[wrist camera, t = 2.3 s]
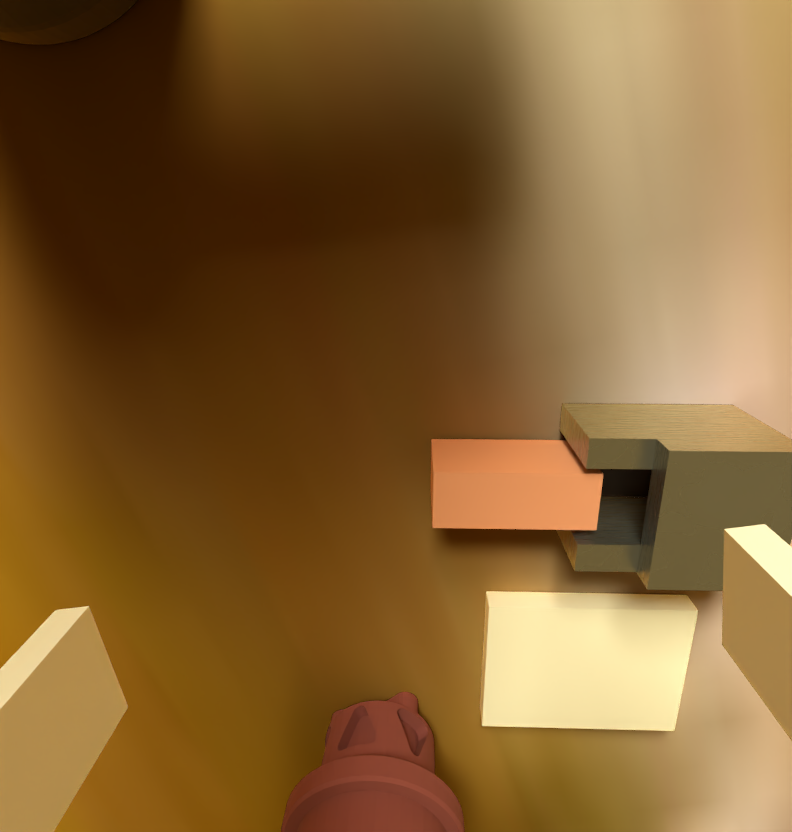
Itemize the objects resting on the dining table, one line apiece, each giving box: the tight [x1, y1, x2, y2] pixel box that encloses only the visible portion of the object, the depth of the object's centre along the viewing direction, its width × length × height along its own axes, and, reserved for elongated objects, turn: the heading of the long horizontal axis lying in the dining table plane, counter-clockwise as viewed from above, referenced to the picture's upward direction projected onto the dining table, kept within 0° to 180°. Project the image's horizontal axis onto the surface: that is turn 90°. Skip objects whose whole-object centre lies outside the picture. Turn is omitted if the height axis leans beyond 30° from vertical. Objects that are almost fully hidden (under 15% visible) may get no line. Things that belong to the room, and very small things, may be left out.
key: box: [430, 439, 603, 530], centre depth 30 cm, size 8×3×4 cm, turn 90°
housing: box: [556, 403, 792, 591], centre depth 29 cm, size 9×7×7 cm
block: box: [480, 591, 698, 731], centre depth 36 cm, size 12×9×2 cm
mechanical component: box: [281, 692, 465, 832], centre depth 33 cm, size 12×10×10 cm
